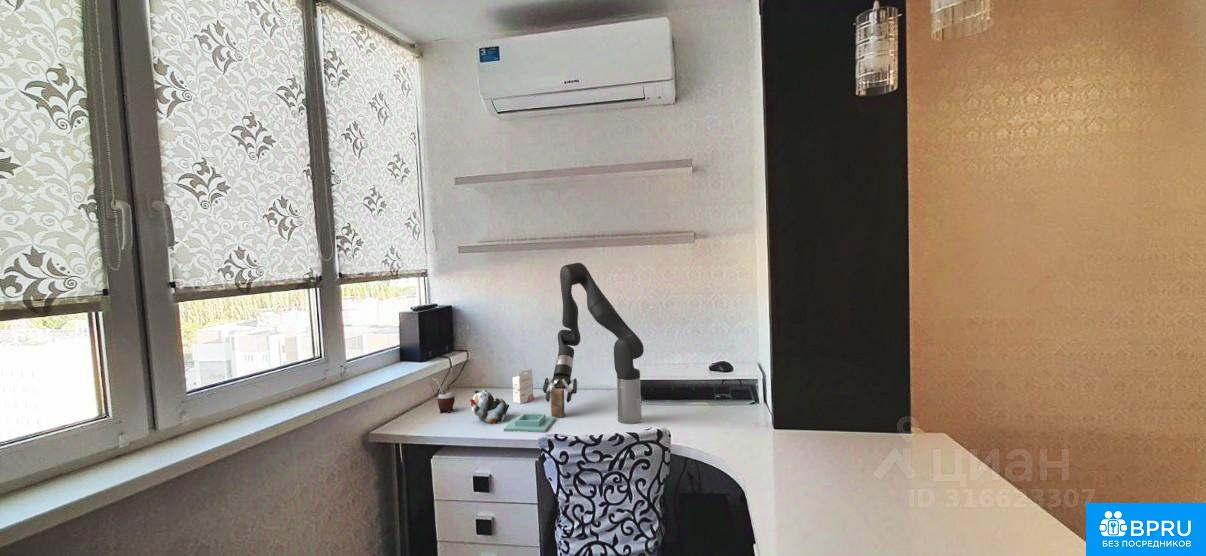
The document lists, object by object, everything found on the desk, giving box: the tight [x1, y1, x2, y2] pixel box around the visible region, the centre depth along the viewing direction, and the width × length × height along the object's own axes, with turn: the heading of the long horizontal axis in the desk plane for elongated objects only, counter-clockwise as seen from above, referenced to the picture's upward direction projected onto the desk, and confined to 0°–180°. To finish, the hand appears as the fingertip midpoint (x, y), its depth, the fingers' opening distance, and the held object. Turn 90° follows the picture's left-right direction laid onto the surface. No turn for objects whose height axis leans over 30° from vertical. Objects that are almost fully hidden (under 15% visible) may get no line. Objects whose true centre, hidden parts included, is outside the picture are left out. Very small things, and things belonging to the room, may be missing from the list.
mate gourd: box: [431, 377, 456, 414], centre depth 209 cm, size 8×8×15 cm
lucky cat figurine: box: [469, 389, 510, 425], centre depth 197 cm, size 15×12×14 cm
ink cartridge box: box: [512, 368, 534, 405], centre depth 223 cm, size 9×5×15 cm, turn 143°
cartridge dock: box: [503, 412, 557, 433], centre depth 189 cm, size 16×16×3 cm
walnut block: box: [550, 388, 566, 419], centre depth 199 cm, size 4×4×11 cm
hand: (557, 401), depth 199 cm, fingers open, 8 cm apart
